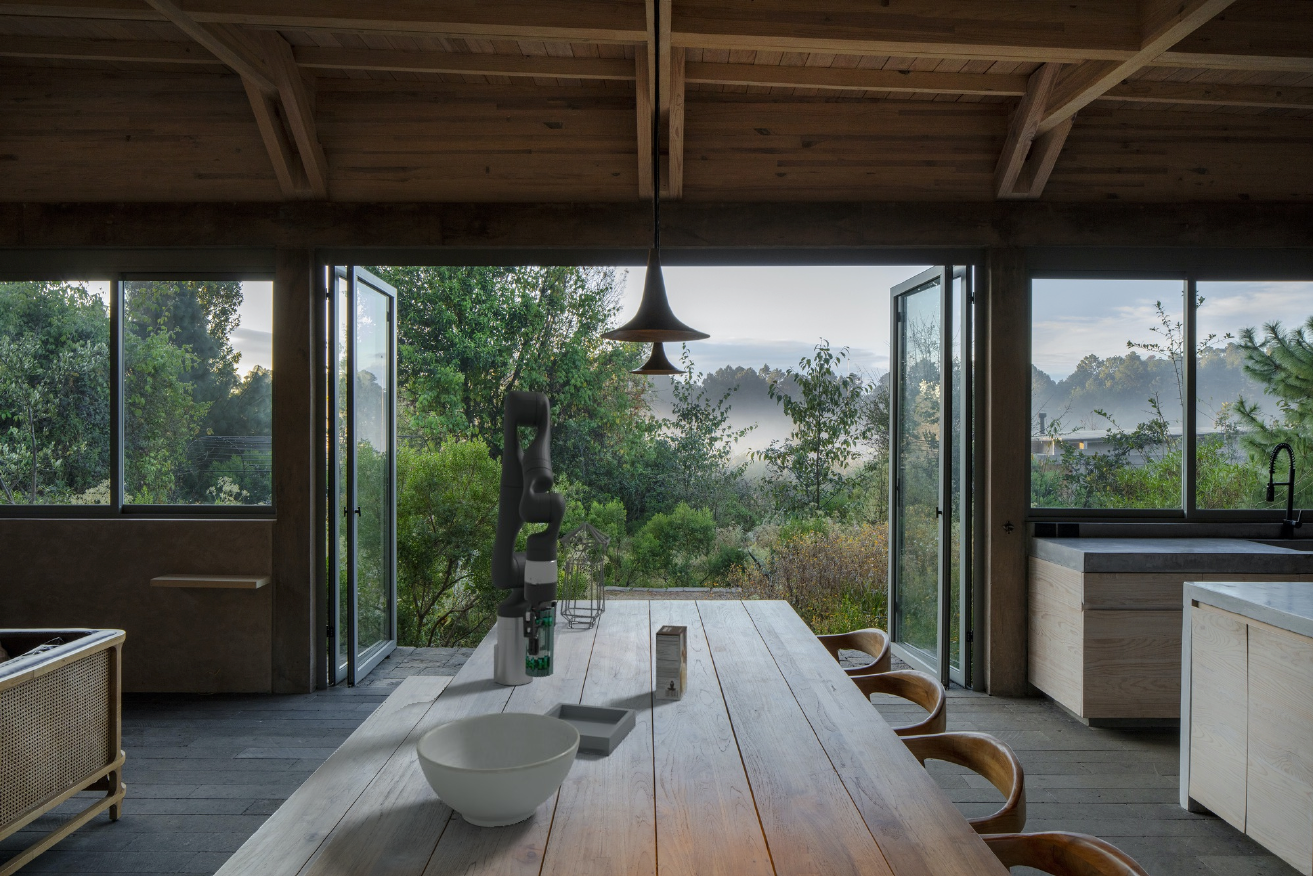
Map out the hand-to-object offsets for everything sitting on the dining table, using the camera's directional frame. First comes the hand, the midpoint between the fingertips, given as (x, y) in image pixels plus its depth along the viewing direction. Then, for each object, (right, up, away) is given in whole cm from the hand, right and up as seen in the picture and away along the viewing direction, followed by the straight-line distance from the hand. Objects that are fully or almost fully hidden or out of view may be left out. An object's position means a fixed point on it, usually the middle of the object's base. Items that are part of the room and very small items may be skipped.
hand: (539, 650), depth 189 cm
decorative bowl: (+1, -13, -52) cm, 54 cm away
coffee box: (+31, -14, +12) cm, 36 cm away
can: (0, -5, 0) cm, 5 cm away
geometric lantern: (+3, -15, +88) cm, 90 cm away
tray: (+11, -14, -17) cm, 24 cm away
